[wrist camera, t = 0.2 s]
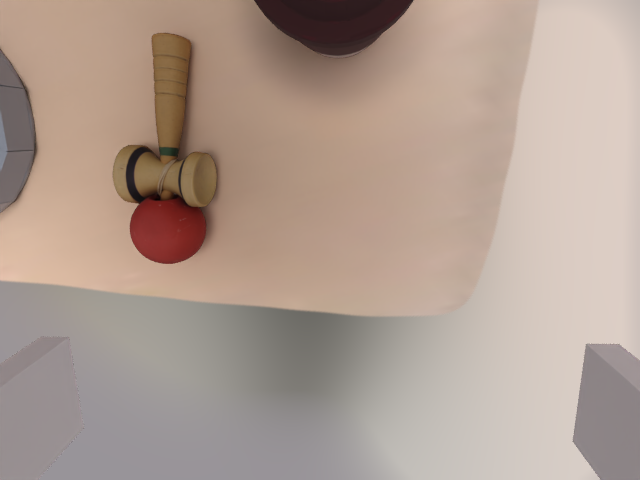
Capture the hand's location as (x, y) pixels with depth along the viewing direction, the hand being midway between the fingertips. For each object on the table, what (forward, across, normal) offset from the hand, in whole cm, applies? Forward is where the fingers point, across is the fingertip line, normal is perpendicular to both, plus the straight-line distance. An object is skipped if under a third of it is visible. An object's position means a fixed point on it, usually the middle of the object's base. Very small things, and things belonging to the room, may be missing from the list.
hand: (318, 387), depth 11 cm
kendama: (+28, -14, +5) cm, 32 cm away
